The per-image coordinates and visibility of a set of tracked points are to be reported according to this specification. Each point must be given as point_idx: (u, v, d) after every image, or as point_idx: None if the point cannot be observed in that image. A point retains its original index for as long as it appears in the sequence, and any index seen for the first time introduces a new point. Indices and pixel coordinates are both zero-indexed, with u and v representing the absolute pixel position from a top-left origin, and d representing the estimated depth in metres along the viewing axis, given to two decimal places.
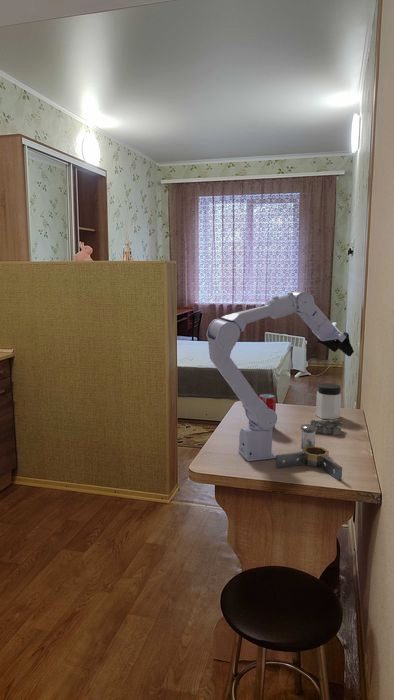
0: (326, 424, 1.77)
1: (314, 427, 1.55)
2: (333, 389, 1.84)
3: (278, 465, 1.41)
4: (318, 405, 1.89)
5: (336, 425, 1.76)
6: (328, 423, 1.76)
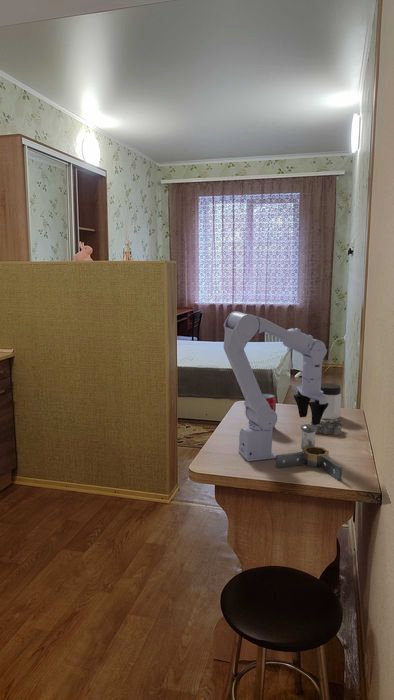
0: (326, 424, 1.77)
1: (314, 427, 1.55)
2: (333, 389, 1.84)
3: (278, 465, 1.41)
4: None
5: (336, 425, 1.76)
6: (328, 423, 1.76)
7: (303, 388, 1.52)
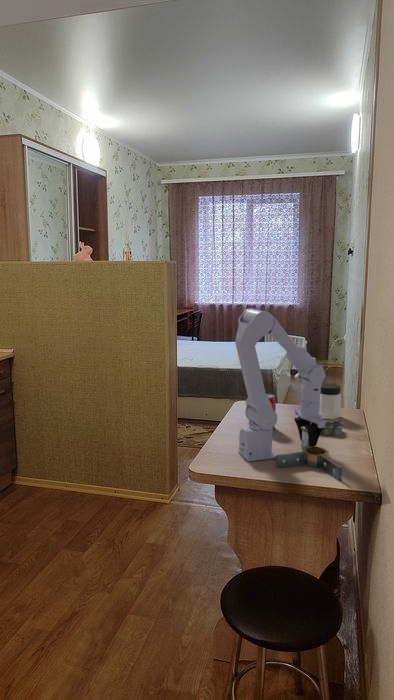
0: (326, 425, 1.76)
1: None
2: (333, 389, 1.84)
3: (278, 465, 1.41)
4: None
5: (336, 425, 1.75)
6: (328, 424, 1.76)
7: (302, 411, 1.53)
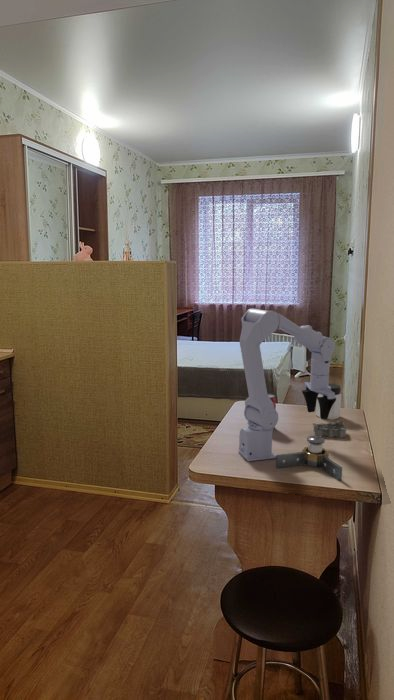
0: (327, 427, 1.74)
1: (321, 439, 1.44)
2: (333, 389, 1.84)
3: (278, 465, 1.41)
4: (318, 405, 1.89)
5: (337, 427, 1.74)
6: (329, 426, 1.74)
7: (311, 384, 1.57)
